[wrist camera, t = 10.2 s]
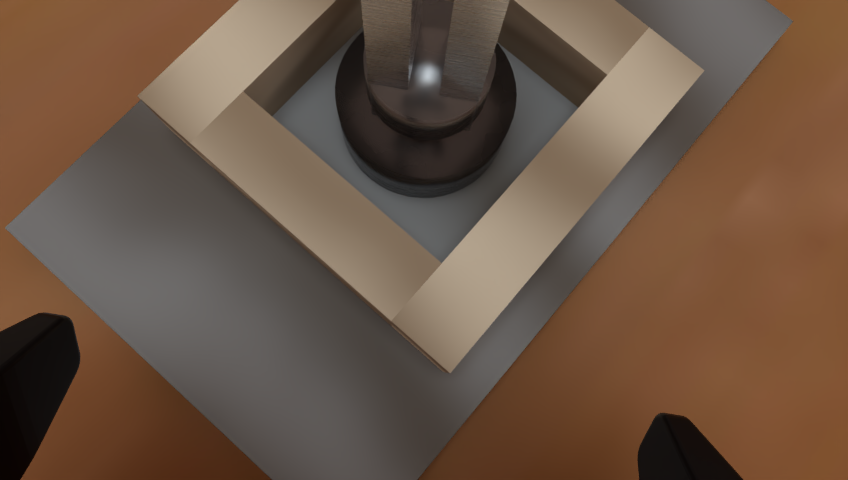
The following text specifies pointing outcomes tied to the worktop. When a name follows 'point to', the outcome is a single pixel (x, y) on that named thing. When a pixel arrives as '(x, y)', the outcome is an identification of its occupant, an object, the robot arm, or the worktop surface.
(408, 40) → the grey piece
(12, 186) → the worktop surface
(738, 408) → the worktop surface
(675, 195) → the worktop surface
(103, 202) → the dock
